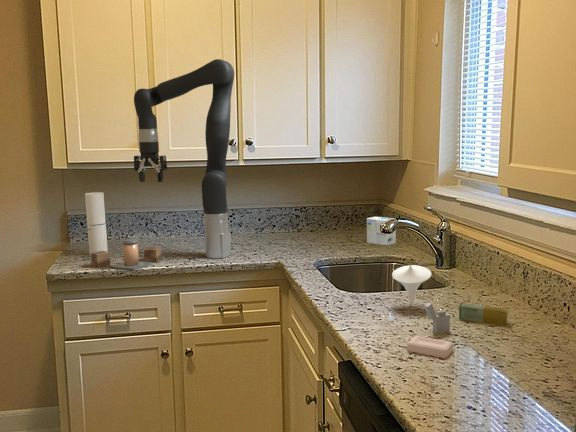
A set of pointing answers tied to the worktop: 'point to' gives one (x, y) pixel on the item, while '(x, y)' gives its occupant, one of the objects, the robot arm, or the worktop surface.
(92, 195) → the cylindrical container
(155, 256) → the block
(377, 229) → the light bulb box
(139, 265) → the coaster
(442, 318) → the lighter
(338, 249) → the worktop surface
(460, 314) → the medication box
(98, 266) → the block
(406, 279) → the white spinning top
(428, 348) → the soap bar
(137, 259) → the tan jar
